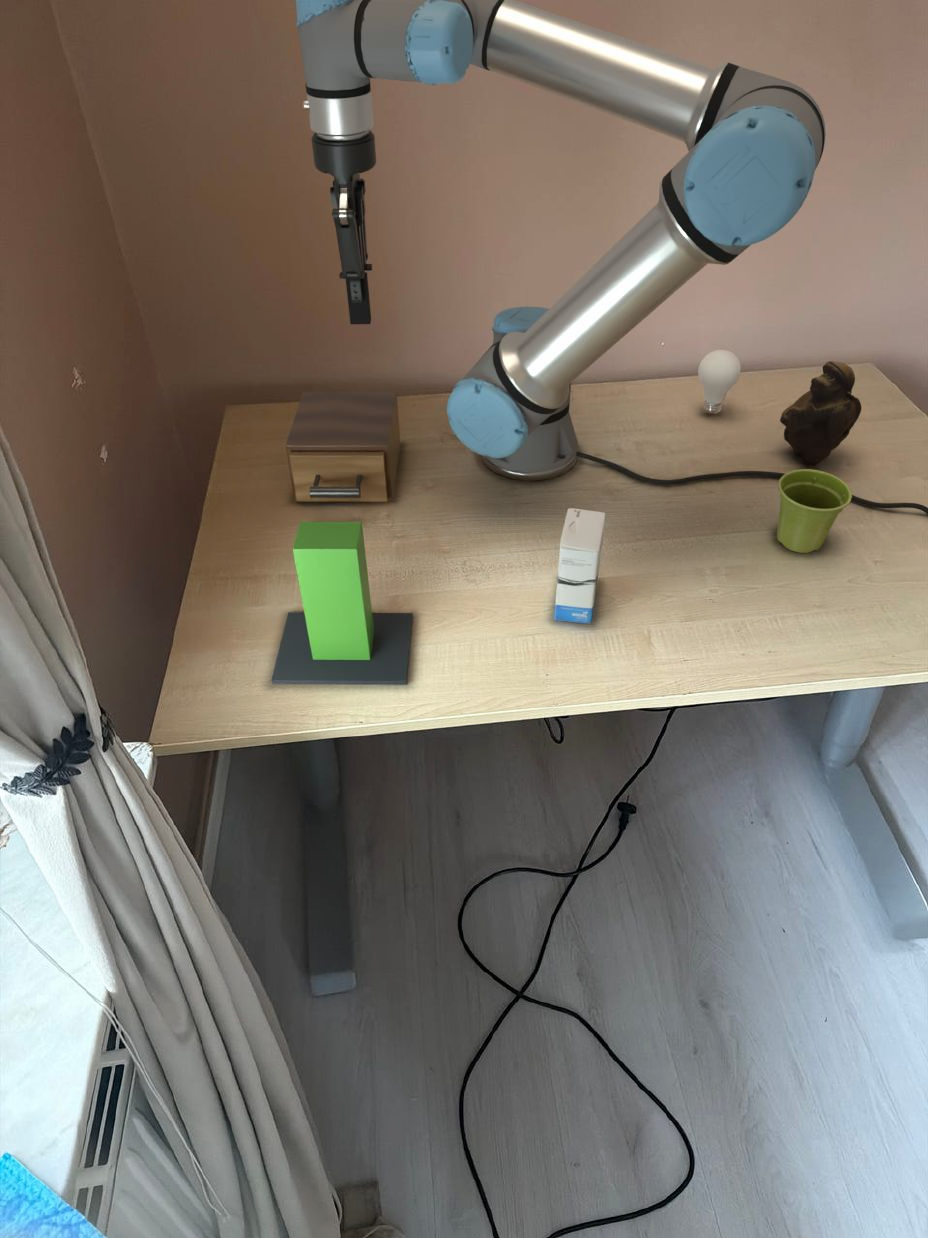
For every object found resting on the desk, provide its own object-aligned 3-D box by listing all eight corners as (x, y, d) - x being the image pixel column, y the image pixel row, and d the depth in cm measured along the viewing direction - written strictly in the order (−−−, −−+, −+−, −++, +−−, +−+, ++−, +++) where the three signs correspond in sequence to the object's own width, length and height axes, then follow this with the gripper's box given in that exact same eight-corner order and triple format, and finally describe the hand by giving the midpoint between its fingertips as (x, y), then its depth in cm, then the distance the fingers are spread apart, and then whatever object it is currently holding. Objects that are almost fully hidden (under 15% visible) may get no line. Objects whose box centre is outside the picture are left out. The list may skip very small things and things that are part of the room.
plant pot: (835, 527, 127) (853, 475, 121) (833, 567, 121) (851, 515, 115) (768, 515, 129) (781, 464, 124) (761, 553, 123) (775, 501, 117)
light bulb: (735, 423, 148) (748, 361, 141) (694, 423, 148) (706, 361, 141) (726, 402, 153) (739, 342, 146) (687, 403, 153) (698, 342, 146)
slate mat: (413, 616, 115) (412, 612, 114) (406, 684, 106) (406, 681, 105) (288, 615, 115) (288, 612, 115) (272, 683, 106) (271, 680, 106)
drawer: (384, 520, 128) (380, 474, 123) (291, 520, 129) (283, 474, 123) (395, 448, 142) (391, 404, 137) (311, 448, 143) (304, 404, 138)
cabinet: (392, 501, 133) (387, 445, 127) (295, 501, 134) (285, 445, 127) (400, 445, 145) (396, 391, 138) (310, 445, 145) (302, 391, 139)
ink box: (591, 625, 113) (600, 552, 105) (552, 620, 114) (558, 547, 106) (598, 582, 119) (606, 510, 111) (560, 578, 120) (566, 505, 112)
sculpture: (752, 432, 139) (812, 344, 133) (795, 450, 145) (854, 367, 139) (794, 465, 132) (859, 373, 125) (838, 483, 138) (902, 396, 131)
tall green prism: (374, 631, 112) (361, 521, 100) (370, 660, 108) (357, 549, 97) (318, 631, 112) (299, 521, 100) (312, 659, 108) (292, 549, 97)
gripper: (318, 117, 112) (339, 302, 128) (302, 147, 102) (327, 343, 118) (378, 116, 111) (392, 301, 127) (368, 147, 102) (383, 343, 118)
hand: (360, 321), depth 123 cm, fingers closed
